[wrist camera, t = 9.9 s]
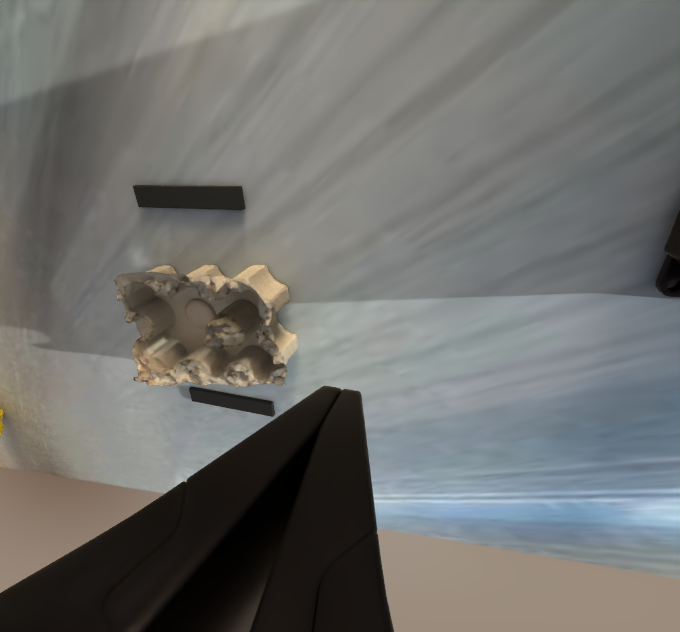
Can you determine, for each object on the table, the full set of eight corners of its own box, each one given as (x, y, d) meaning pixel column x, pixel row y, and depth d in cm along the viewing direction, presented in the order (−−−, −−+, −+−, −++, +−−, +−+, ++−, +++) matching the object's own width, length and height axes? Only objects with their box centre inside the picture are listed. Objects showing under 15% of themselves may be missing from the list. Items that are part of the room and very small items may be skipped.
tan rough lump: (171, 351, 26) (128, 384, 23) (142, 253, 23) (85, 275, 20) (304, 370, 24) (277, 412, 20) (293, 262, 20) (258, 289, 17)
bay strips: (242, 186, 19) (239, 186, 19) (274, 414, 26) (273, 417, 26) (136, 185, 21) (132, 185, 21) (194, 398, 28) (192, 401, 28)
